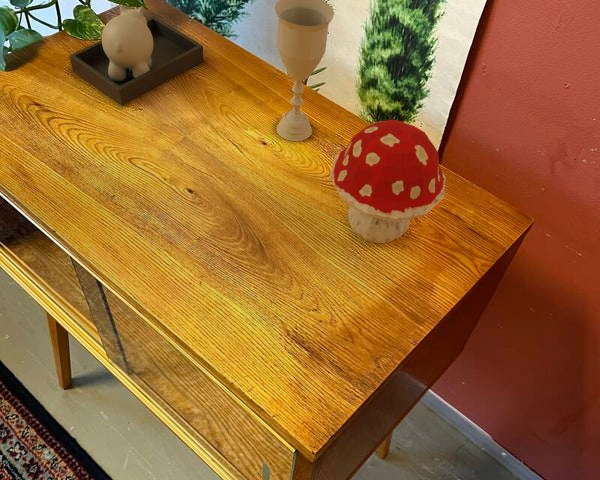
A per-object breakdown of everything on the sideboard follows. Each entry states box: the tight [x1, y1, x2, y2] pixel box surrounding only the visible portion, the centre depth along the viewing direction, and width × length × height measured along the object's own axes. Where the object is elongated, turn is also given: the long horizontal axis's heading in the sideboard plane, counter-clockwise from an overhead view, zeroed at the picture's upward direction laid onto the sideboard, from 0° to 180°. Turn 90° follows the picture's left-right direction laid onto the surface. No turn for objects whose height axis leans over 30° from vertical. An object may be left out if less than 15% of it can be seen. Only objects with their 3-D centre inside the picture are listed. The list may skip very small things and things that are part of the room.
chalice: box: [274, 0, 335, 142], centre depth 88 cm, size 7×7×18 cm
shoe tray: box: [68, 15, 205, 106], centre depth 100 cm, size 16×11×3 cm
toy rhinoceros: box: [101, 3, 153, 82], centre depth 98 cm, size 7×12×8 cm, turn 178°
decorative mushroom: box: [329, 119, 447, 244], centre depth 79 cm, size 14×14×15 cm
